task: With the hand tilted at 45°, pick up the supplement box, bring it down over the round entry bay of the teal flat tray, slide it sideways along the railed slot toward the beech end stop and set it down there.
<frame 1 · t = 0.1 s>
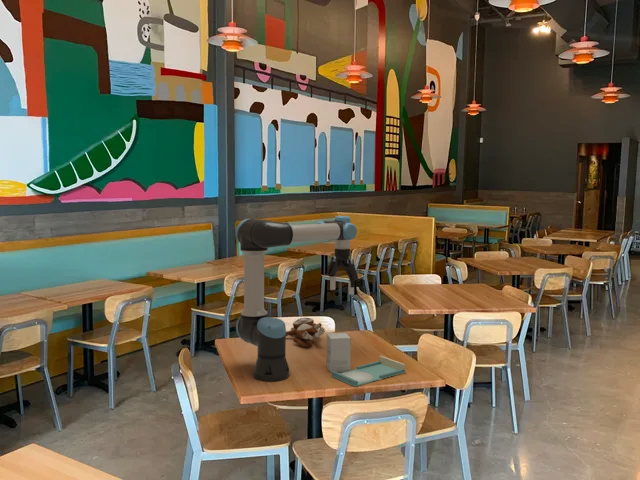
hand: (341, 291, 276), 28 cm above the table, tool pointing down, fingers open, 13 cm apart
toy: (304, 341, 291), on the table
supplement box: (338, 369, 247), on the table
teal flat tray: (373, 373, 242), on the table
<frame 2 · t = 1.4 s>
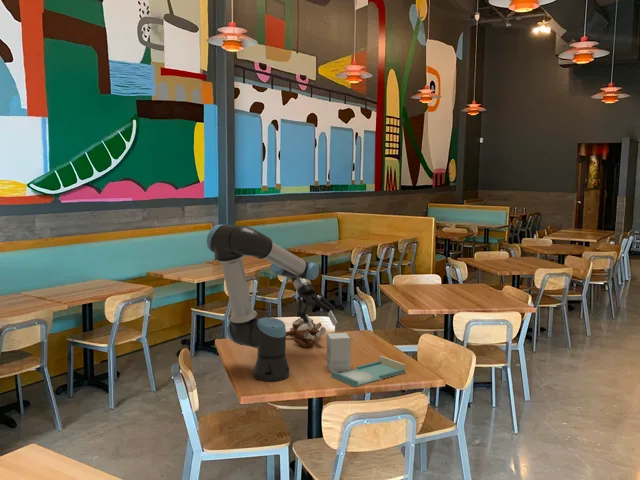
hand: (323, 326, 254), 17 cm above the table, tool tilted 45°, fingers open, 13 cm apart
nothing on the table moved.
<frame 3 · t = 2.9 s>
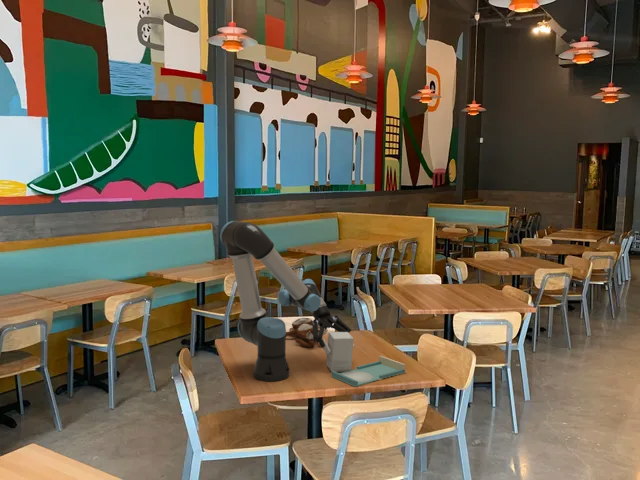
hand: (340, 350, 248), 8 cm above the table, tool tilted 45°, fingers open, 13 cm apart
supplement box: (338, 368, 247), on the table, touching gripper, teal flat tray
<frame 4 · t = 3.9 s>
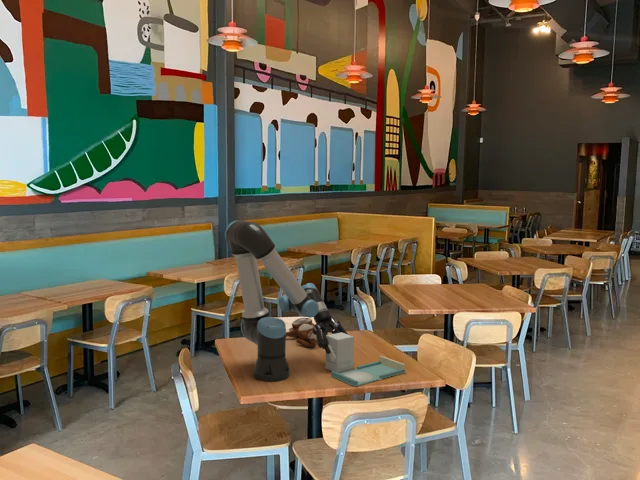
hand: (343, 357, 244), 6 cm above the table, tool tilted 45°, fingers closed on supplement box, 9 cm apart
supplement box: (339, 369, 247), on the table, touching gripper
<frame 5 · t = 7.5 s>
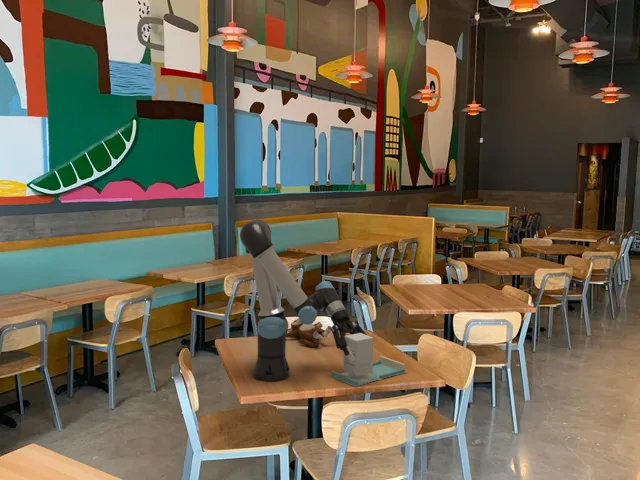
hand: (362, 359, 233), 9 cm above the table, tool tilted 45°, fingers closed on supplement box, 9 cm apart
supplement box: (357, 372, 235), point 3 cm above the table, touching gripper
when the fingers open (7 cm above the table, at t = 11.1 s): supplement box stays where it is, resting on teal flat tray.
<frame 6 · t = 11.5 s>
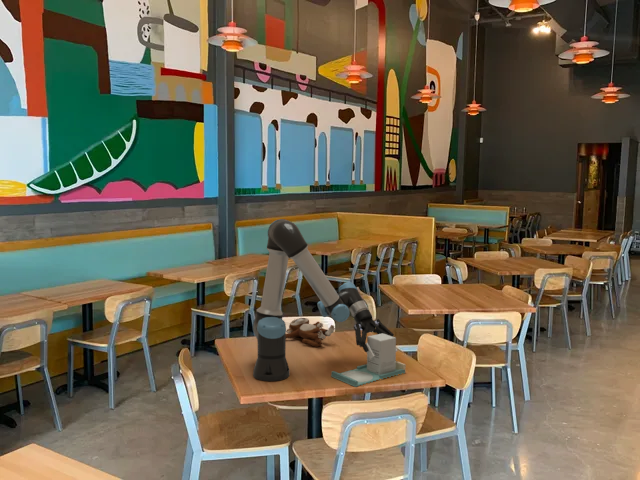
hand: (384, 355, 242), 8 cm above the table, tool tilted 45°, fingers open, 13 cm apart
supplement box: (380, 371, 244), resting on teal flat tray
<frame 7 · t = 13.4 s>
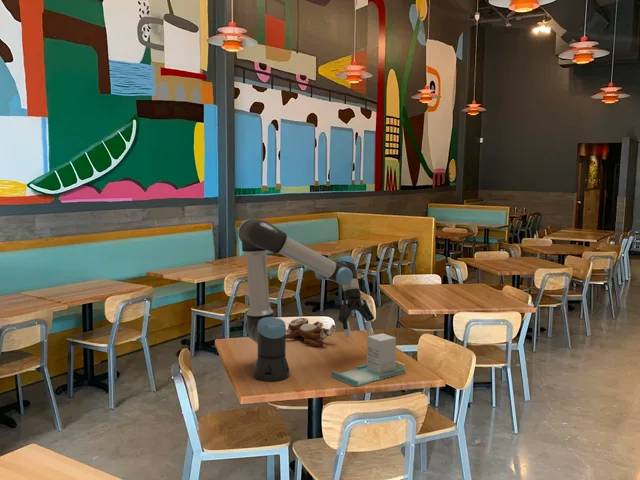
hand: (359, 336, 254), 12 cm above the table, tool tilted 25°, fingers open, 13 cm apart
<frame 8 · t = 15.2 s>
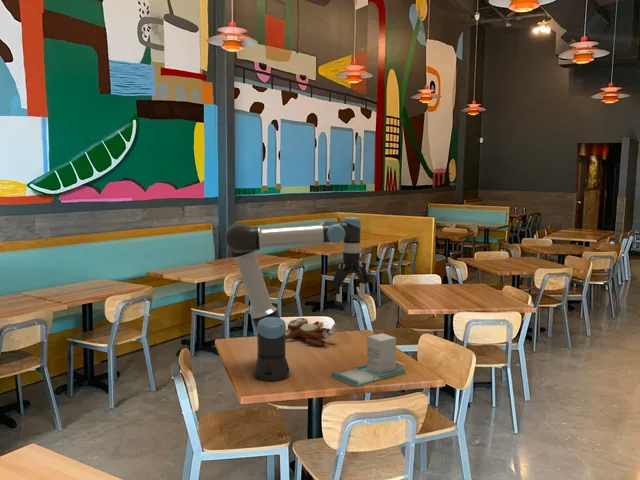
hand: (350, 299, 254), 29 cm above the table, tool pointing down, fingers open, 13 cm apart
at the end: supplement box inside the target area on the teal flat tray (1.1 cm from its centre), point 0.4 cm above the teal flat tray's base; supplement box tilted 0°; the gripper is holding nothing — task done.
